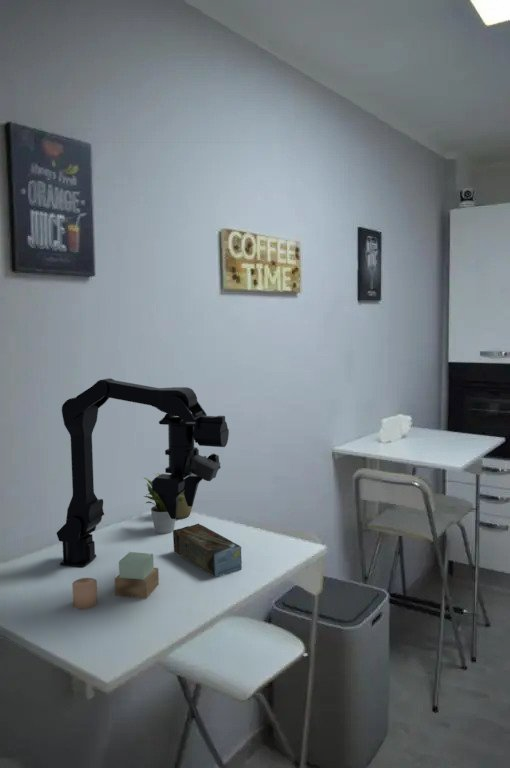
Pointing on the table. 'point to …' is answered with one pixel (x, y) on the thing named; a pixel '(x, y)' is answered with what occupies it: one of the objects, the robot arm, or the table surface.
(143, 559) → the top block
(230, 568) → the beverage carton
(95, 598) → the pink domed cylinder
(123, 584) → the base block
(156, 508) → the house plant
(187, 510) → the squeeze bottle
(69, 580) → the table surface
